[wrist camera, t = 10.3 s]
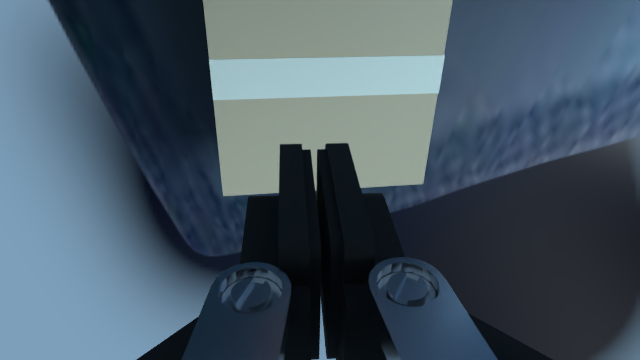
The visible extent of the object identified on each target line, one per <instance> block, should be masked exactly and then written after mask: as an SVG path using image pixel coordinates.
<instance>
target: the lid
mask: <svg viewBox="0 0 640 360" xmlns="http://www.w3.org/2000/svg"><path fill="white" fill-rule="evenodd" d="M452 1H453V0H203V5H204V15H205V24H206V34H207V44H208V53H209V65H210V75H211V85H212V94H213V102H214V112H215V121H216V131H217V141H218V151H219V160H220V170H221V180H222V189H223V196H233V195H249V194H266V193H279V161H280V144H302V150H307V149H311V157H312V166H313V175H314V184H315V190H317V149H325V145H326V143H348V144H349V148H350V152H351V155H352V159H353V163H354V166H355V170H356V173H357V177H358V181H359V184H360V188H364V187H381V186H397V185H414V184H423V181H424V175H425V169H426V163H427V156H428V150H429V144H430V138H431V132H432V125H433V119H434V113H435V107H436V101H437V94H438V93H439V88H440V82H441V76H442V70H443V64H444V58H445V55H444V51H445V45H446V39H447V32H448V26H449V20H450V14H451V8H452Z"/></svg>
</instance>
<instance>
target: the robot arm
mask: <svg viewBox="0 0 640 360" xmlns="http://www.w3.org/2000/svg"><path fill="white" fill-rule="evenodd" d="M320 296H321V304H322V314H323V326H324V336H325V347H326V356H327V359H332V358H336V360H552V359H551V358H549V357H547V356H545V355H543V354H541V353H539V352H538V351H536V350H534V349H532V348H530V347H528V346H527V345H525V344H523V343H521V342H520V341H518V340H516V339H514V338H512V337H510V336H508V335H507V334H505V333H503V332H501V331H500V330H498V329H496V328H494V327H492V326H490V325H488V324H487V323H485V322H483V321H481V320H479V319H477V318H476V317H474V316H472V315H470V314H469V313H467V312H466V310H465V309H464V307H463V306H462V304H461V303H460V301H459V299H458V298H457V296H456V295H455V293H454V292H453V290H452V289H451V287H450V285H449V284H448V282H447V281H446V279H445V278H444V277H443V276H442V274H441V273H440V272H439V271H438V270H437V269H435V268H434V267H432V266H431V265H429V264H428V263H425V262H423V261H420V260H417V259H412V258H407V257H405V256H404V253H403V250H402V248H401V245H400V242H399V239H398V236H397V233H396V231H395V228H394V224H393V221H392V219H391V216H390V213H389V210H388V207H387V204H386V201H385V198H384V196H383V194H382V193H364V194H362V192H361V188H360V184H359V181H358V177H357V173H356V170H355V166H354V163H353V159H352V155H351V152H350V148H349V144H348V143H326V145H325V149H317V191H316V193H315V184H314V175H313V166H312V157H311V149H307V150H302V144H280V161H279V196H249V197H248V203H247V211H246V219H245V227H244V236H243V244H242V252H241V260H240V264H239V265H235V266H233V267H231V268H229V269H227V270H225V271H224V272H223V273H222V274H220V275H219V276H218V277H217V278H216V280H215V281H214V283H213V284H212V286H211V288H210V291H209V293H208V295H207V298H206V300H205V303H204V305H203V308H202V310H201V313H200V315H199V317H197V318H196V319H194V320H193V321H192V322H190V323H189V324H187V325H186V326H184V327H183V328H181V329H180V330H179V331H177V332H176V333H174V334H173V335H171V336H170V337H169V338H167V339H166V340H164V341H163V342H161V343H160V344H158V345H157V346H156V347H154V348H153V349H151V350H150V351H148V352H147V353H145V354H144V355H143V356H141V357H140V358H138V359H137V360H311V359H319V339H320Z"/></svg>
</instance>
